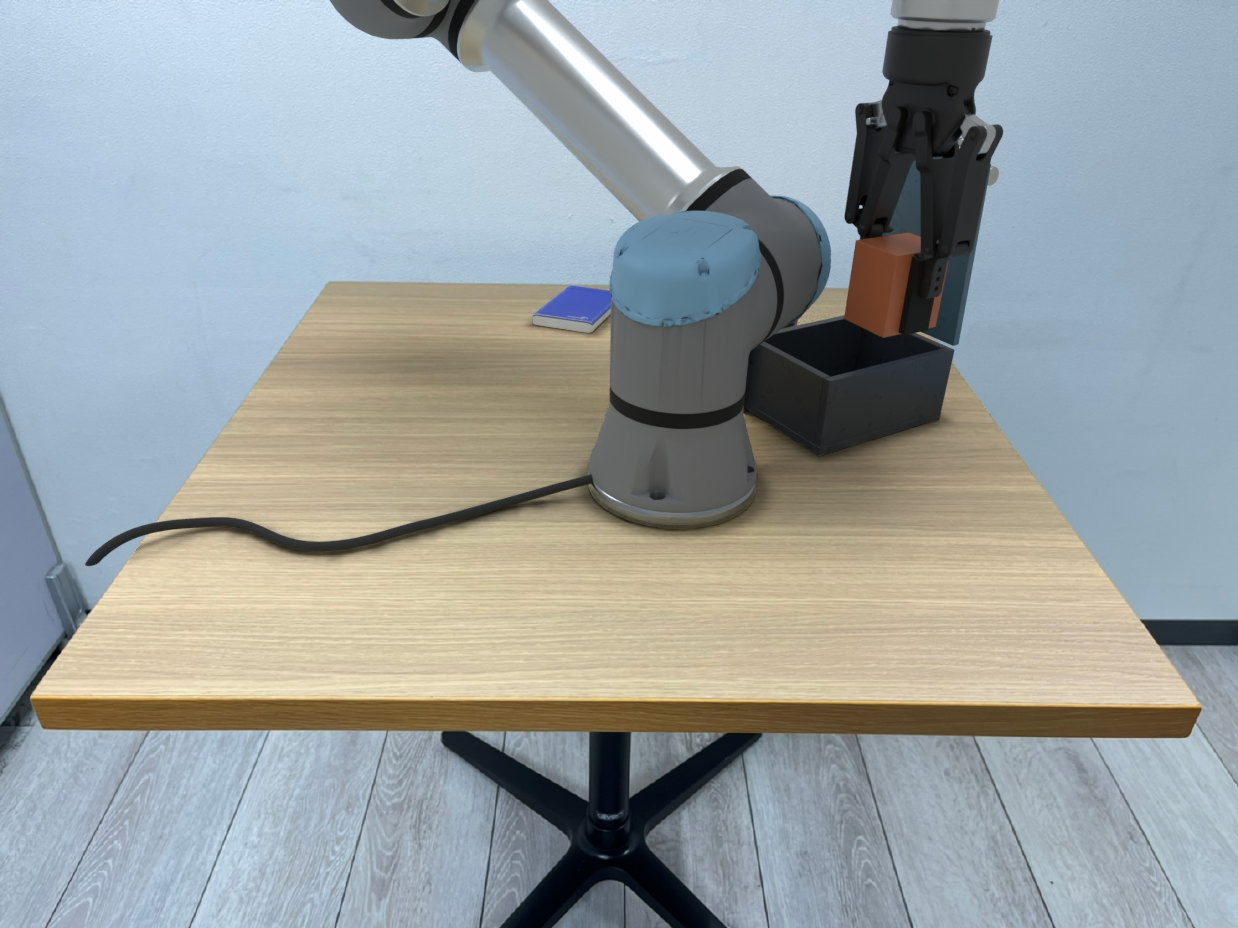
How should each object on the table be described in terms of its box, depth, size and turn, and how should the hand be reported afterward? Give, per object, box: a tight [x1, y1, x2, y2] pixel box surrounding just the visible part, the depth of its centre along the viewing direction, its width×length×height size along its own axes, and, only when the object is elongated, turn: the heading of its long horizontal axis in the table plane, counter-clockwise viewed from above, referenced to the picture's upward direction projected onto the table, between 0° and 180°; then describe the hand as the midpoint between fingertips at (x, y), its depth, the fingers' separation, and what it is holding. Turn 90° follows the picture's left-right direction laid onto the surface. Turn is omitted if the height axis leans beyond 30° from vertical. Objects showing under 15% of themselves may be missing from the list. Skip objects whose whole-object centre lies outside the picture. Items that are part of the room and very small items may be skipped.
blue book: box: [532, 285, 611, 334], centre depth 121 cm, size 2×8×12 cm
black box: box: [743, 314, 956, 457], centre depth 95 cm, size 17×13×8 cm
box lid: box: [882, 157, 1000, 347], centre depth 93 cm, size 18×13×7 cm
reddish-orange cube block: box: [843, 233, 949, 338], centre depth 78 cm, size 6×5×7 cm
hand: (889, 320), depth 79 cm, fingers closed on reddish-orange cube block, 5 cm apart
